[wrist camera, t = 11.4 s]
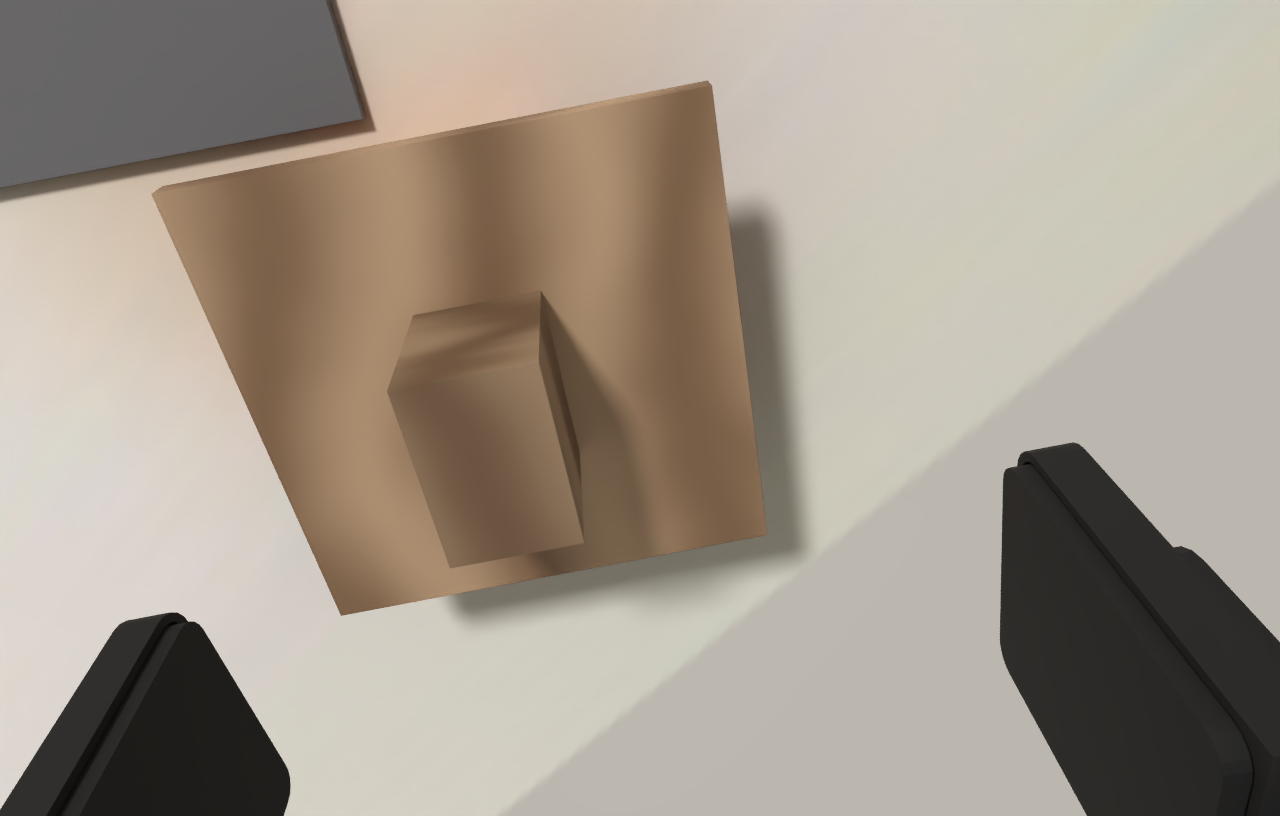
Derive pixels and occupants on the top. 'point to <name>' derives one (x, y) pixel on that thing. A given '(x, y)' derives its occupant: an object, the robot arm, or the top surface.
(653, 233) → the lid
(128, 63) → the mat
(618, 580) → the top surface
